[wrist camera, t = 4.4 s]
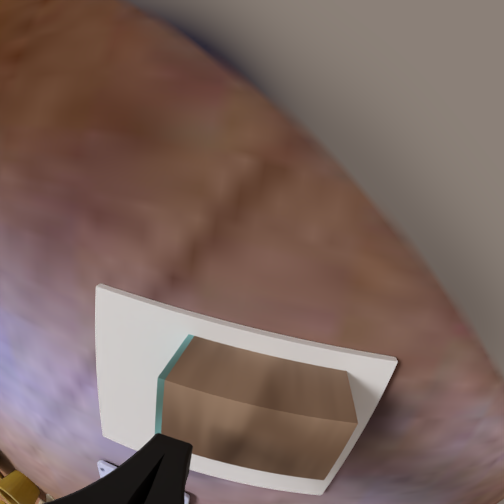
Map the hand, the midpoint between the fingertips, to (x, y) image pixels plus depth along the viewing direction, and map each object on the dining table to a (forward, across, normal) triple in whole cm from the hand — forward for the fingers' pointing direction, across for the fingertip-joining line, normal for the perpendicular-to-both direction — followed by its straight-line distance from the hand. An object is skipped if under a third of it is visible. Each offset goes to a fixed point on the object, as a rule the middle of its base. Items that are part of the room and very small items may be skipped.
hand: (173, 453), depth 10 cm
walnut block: (+4, +1, 0) cm, 4 cm away
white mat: (+6, -1, +3) cm, 7 cm away
